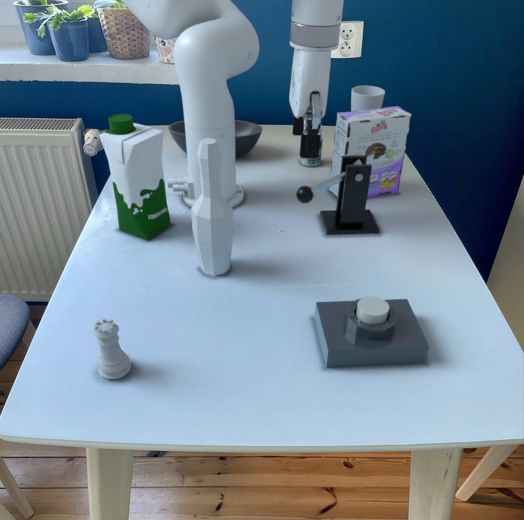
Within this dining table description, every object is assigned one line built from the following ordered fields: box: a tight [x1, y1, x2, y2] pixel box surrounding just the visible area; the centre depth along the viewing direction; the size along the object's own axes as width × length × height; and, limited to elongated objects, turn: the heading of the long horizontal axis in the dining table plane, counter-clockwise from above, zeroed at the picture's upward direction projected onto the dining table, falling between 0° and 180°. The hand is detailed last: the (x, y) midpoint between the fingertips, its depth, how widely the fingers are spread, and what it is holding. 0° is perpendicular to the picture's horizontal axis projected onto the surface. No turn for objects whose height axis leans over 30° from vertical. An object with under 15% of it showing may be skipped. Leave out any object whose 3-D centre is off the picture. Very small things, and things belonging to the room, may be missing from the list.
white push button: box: [356, 295, 389, 325], centre depth 76 cm, size 4×4×2 cm
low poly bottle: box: [190, 138, 235, 277], centre depth 85 cm, size 6×6×22 cm
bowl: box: [167, 119, 264, 160], centre depth 128 cm, size 12×22×6 cm, turn 88°
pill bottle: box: [300, 124, 324, 167], centre depth 124 cm, size 5×5×8 cm
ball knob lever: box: [295, 159, 362, 205], centre depth 99 cm, size 13×3×3 cm, turn 94°
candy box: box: [328, 105, 413, 199], centre depth 110 cm, size 14×6×16 cm, turn 108°
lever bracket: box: [319, 155, 380, 236], centre depth 100 cm, size 10×8×13 cm
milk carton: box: [98, 113, 172, 241], centre depth 96 cm, size 9×9×20 cm
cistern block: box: [313, 297, 430, 369], centre depth 78 cm, size 14×11×5 cm
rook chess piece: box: [92, 317, 132, 381], centre depth 71 cm, size 4×4×8 cm
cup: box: [350, 85, 386, 112], centre depth 133 cm, size 8×8×12 cm
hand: (304, 145), depth 94 cm, fingers open, 9 cm apart
